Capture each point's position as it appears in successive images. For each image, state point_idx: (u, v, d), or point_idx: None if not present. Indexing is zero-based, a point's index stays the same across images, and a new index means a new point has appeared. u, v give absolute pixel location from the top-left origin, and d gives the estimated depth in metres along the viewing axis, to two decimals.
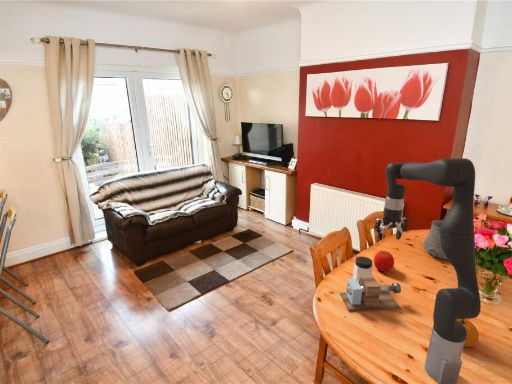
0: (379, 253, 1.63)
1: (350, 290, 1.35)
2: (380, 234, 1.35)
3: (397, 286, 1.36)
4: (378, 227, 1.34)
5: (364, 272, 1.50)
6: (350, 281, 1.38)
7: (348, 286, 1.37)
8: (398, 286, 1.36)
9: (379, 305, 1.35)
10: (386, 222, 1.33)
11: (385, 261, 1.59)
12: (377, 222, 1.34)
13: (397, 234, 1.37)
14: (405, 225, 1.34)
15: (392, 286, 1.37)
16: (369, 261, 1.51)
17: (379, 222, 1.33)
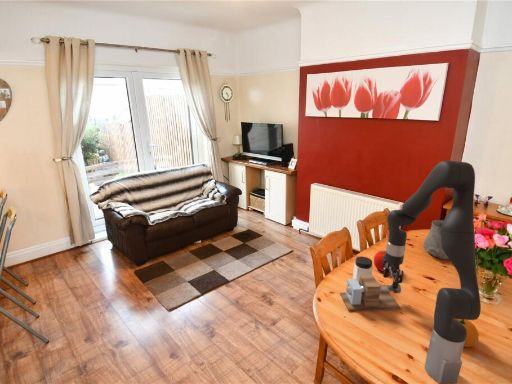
0: (379, 253, 1.63)
1: (350, 290, 1.35)
2: (397, 283, 1.31)
3: None
4: None
5: (364, 272, 1.50)
6: (350, 281, 1.38)
7: (348, 286, 1.37)
8: (398, 286, 1.36)
9: (379, 305, 1.35)
10: None
11: None
12: (401, 274, 1.28)
13: (386, 273, 1.40)
14: None
15: None
16: (369, 261, 1.51)
17: None
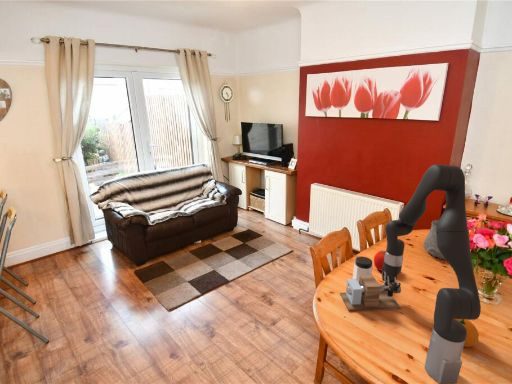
0: (379, 253, 1.63)
1: (350, 290, 1.35)
2: (392, 291, 1.35)
3: None
4: None
5: (364, 272, 1.50)
6: (350, 281, 1.38)
7: (348, 286, 1.37)
8: None
9: (379, 305, 1.35)
10: None
11: None
12: (398, 286, 1.30)
13: None
14: None
15: None
16: (369, 261, 1.51)
17: None
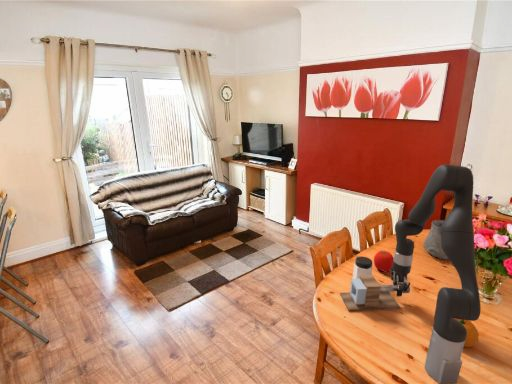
0: (379, 253, 1.63)
1: None
2: (402, 291, 1.35)
3: None
4: None
5: (364, 272, 1.50)
6: (354, 281, 1.38)
7: None
8: None
9: (379, 305, 1.35)
10: None
11: (385, 261, 1.59)
12: (407, 286, 1.30)
13: None
14: None
15: None
16: (369, 261, 1.51)
17: None
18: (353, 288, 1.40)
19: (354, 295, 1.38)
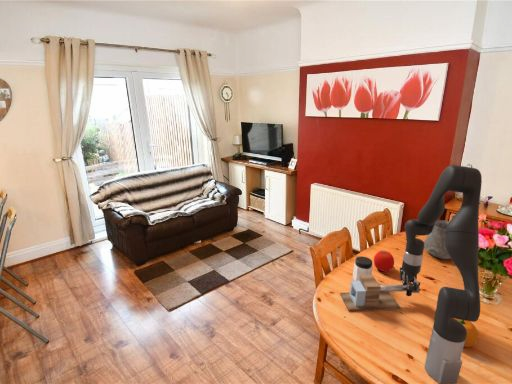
0: (379, 253, 1.63)
1: None
2: (411, 290, 1.36)
3: None
4: None
5: (364, 272, 1.50)
6: (354, 283, 1.38)
7: None
8: None
9: (379, 305, 1.35)
10: None
11: (385, 261, 1.59)
12: (417, 285, 1.31)
13: None
14: None
15: (411, 285, 1.37)
16: (369, 261, 1.51)
17: None
18: (353, 290, 1.40)
19: (354, 297, 1.38)
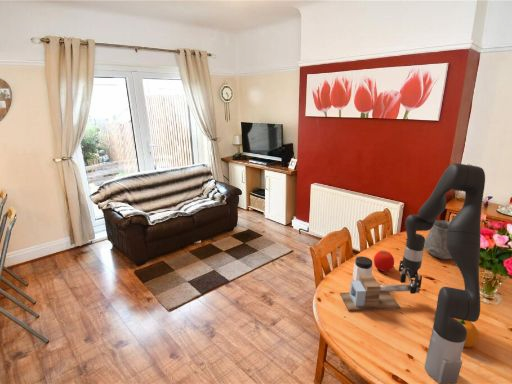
0: (379, 253, 1.63)
1: None
2: (415, 288, 1.32)
3: None
4: None
5: (364, 272, 1.50)
6: (354, 283, 1.38)
7: None
8: None
9: (379, 305, 1.35)
10: None
11: (385, 261, 1.59)
12: (419, 279, 1.29)
13: (403, 278, 1.41)
14: None
15: None
16: (369, 261, 1.51)
17: None
18: (353, 290, 1.40)
19: (354, 297, 1.38)
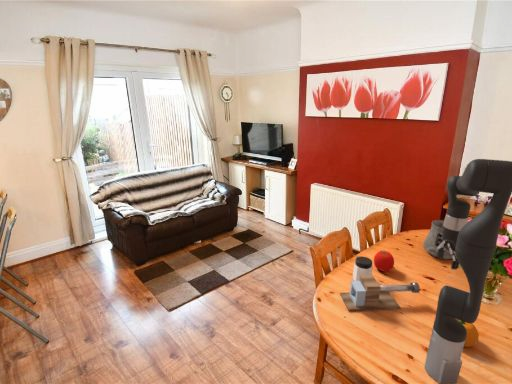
0: (379, 253, 1.63)
1: None
2: None
3: (416, 285, 1.36)
4: None
5: (364, 272, 1.50)
6: (354, 283, 1.38)
7: None
8: (417, 285, 1.36)
9: (379, 305, 1.35)
10: None
11: (385, 261, 1.59)
12: None
13: (441, 253, 1.23)
14: None
15: (411, 285, 1.37)
16: (369, 261, 1.51)
17: None
18: (353, 290, 1.40)
19: (354, 297, 1.38)
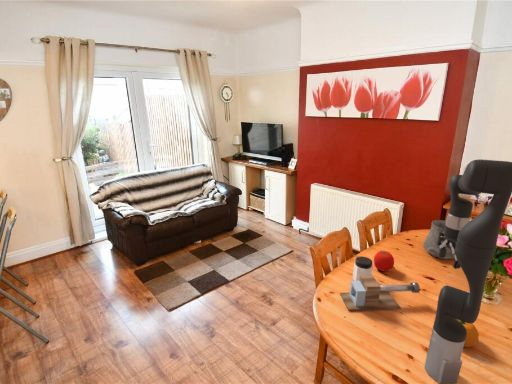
0: (379, 253, 1.63)
1: None
2: None
3: (416, 285, 1.36)
4: None
5: (364, 272, 1.50)
6: (354, 283, 1.38)
7: None
8: (417, 285, 1.36)
9: (379, 305, 1.35)
10: None
11: (385, 261, 1.59)
12: None
13: (443, 252, 1.23)
14: None
15: (411, 285, 1.37)
16: (369, 261, 1.51)
17: None
18: (353, 290, 1.40)
19: (354, 297, 1.38)
